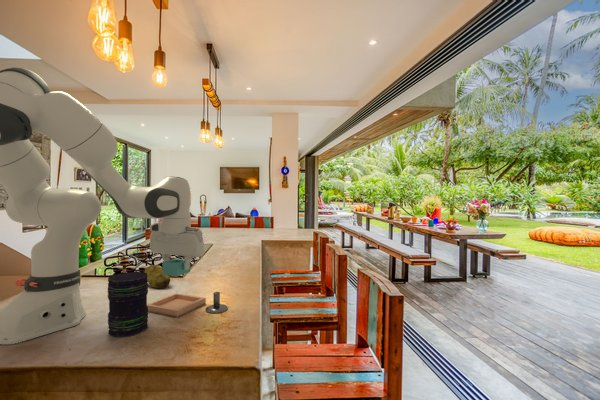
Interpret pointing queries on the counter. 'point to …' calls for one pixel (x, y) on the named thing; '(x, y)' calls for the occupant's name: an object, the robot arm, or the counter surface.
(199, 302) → the tray
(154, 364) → the counter surface
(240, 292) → the counter surface
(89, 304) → the counter surface
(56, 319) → the robot arm
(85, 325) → the counter surface
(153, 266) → the potato
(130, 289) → the storage jar
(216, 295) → the grey peg stand
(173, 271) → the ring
